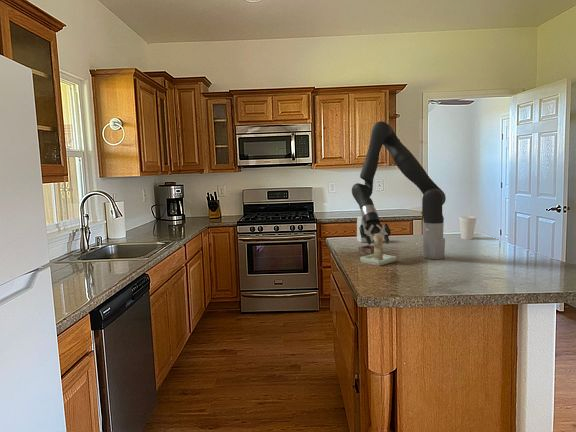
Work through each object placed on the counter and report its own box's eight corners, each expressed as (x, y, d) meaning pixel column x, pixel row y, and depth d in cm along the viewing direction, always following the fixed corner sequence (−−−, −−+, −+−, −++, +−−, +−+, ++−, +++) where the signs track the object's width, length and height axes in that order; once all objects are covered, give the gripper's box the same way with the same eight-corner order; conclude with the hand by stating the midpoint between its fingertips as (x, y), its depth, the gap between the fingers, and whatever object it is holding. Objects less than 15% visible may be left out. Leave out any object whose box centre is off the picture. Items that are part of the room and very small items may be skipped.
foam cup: (460, 239, 241) (461, 218, 239) (456, 237, 250) (457, 216, 248) (477, 239, 239) (478, 218, 238) (473, 237, 248) (473, 216, 247)
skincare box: (361, 242, 237) (361, 217, 235) (356, 241, 243) (356, 216, 241) (373, 241, 240) (374, 216, 238) (368, 240, 245) (369, 215, 244)
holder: (381, 253, 207) (381, 247, 206) (371, 256, 201) (371, 249, 201) (368, 251, 213) (369, 245, 212) (358, 253, 208) (358, 247, 207)
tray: (396, 261, 191) (396, 256, 190) (379, 265, 183) (379, 261, 182) (377, 257, 199) (377, 252, 199) (360, 261, 191) (360, 257, 191)
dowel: (381, 258, 193) (381, 233, 191) (384, 260, 189) (384, 234, 188) (372, 258, 192) (373, 233, 191) (375, 260, 189) (376, 235, 187)
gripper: (358, 211, 195) (366, 239, 185) (385, 210, 197) (395, 238, 188) (354, 221, 201) (362, 248, 191) (381, 220, 203) (390, 247, 193)
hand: (378, 243), depth 189 cm, fingers open, 8 cm apart
